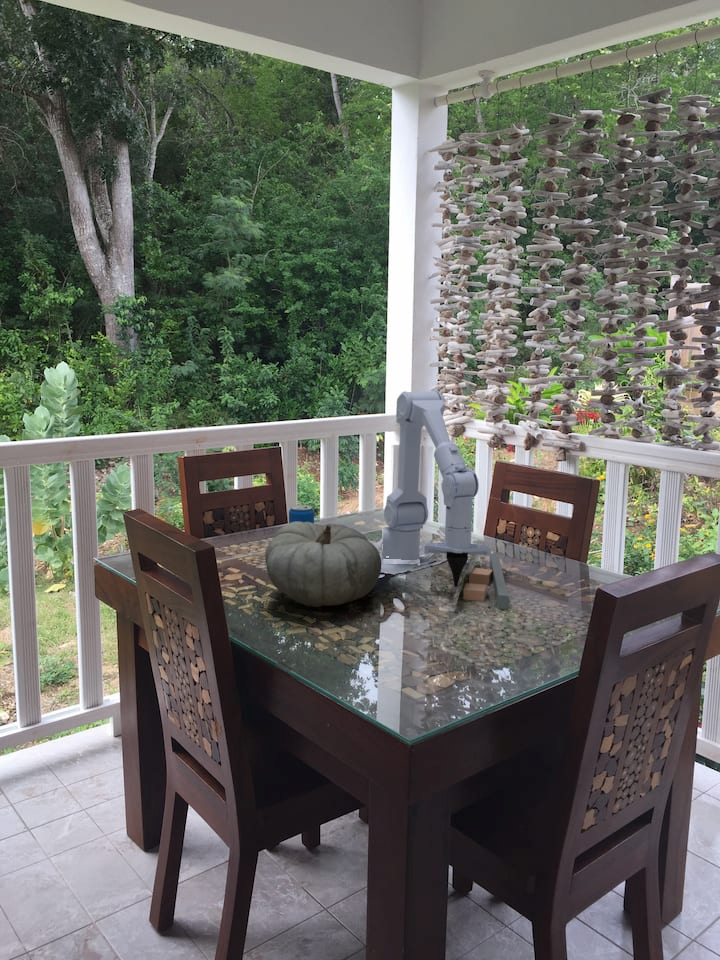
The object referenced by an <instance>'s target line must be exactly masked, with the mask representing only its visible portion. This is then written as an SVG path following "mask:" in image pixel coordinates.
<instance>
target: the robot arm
mask: <svg viewBox="0 0 720 960" xmlns="http://www.w3.org/2000/svg"><path fill="white" fill-rule="evenodd" d="M445 406H446V404H445V399H444V396H443V395H442V393H441V391H439V390H434V391H406V390H405V391H402V392H401V393H400V394H399V396H398V397H397V399H396V410H395V411H396V413H395V414H396V415H395V418H396V420H395V422H396V423H397V424H399V425H400V427H399V428H400V430H399V432H400V433H399V450H398V451H399V455H398V456H399V457H398V479H397V480H398V481H397V489H395V490H394V491H393V492H391V493H390V494H389V495H387V497H386V503H385V507H384V508H383V509H384V510H383V516H384V517H383V518H384V521H385V523H386V525H387V526H385V527H383V531H382V549H381V560H382V559H401V560H417V559H420V554H421V553H420V550H421V549H420V546H421V545H420V544H421V529H423V528H424V525H426V523H427V522H428V518H429V510H428V504H427V503H428V502H427V497H426V495H424V494H423V492H421V491H419V483H420V482H419V480H420V463H421V462H420V460H421V459H420V458H421V436H422V429H423V427H425V430H426V432H427V433H428V436H429V437H430V439H431V441H432V443H433V445H434V447H435V451H434V452H433V457H434V459H435V462H436V464H437V467H438V470H439V471H440V474H441V477H442V480H441V481H442V482H441V485H440V486H441V491H442V495H443V504H444V506H445V521H444V522H445V523H444V525H445V526H444V527H445V528H444V542H425V543H424V550H423V552H424V554H427V555H428V554H442V555H443V554H445V557H446V561H447V563H448V565H449V568H450V570H451V573H452V578H453V583H454V584H453V585H454V588H457V587H458V586H459V582H460V580H459V578H460V575H461V572H462V570H463V569H464V566H465V564H466V563H468V559H469V556H474V555H477V556H486V557H490V556H491V554H492V545H485V544H477V543H472V526H473V525H472V522H473V499H474V497H476V495H478V493H479V479H478V475H477V473H476V472H475V471H474V470H473V469H471V467H468V466H467V464H466V463H465V460H464V458H463V454H462V453H461V451H460V448H459V446H458V445H457V444H456V443H453V442H451V438H450V436H449V433H448V429H447V426H446V422H445V419H444V413H445V408H446V407H445ZM386 556H389V558H386Z"/></svg>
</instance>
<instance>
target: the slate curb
mask: <svg viewBox="0 0 720 960" xmlns="http://www.w3.org/2000/svg"><path fill="white" fill-rule="evenodd" d="M489 570H493V574H492V581H491V582H492V586H493V591H494V595H495V602H496V605H497V606H496V608H497V610H508V607H509V606H508V605H509V594H508V590H507V585H506V581H505V577H504V572H503V569H502V564H501V560H500V556H499V554H498V553H491V556H489Z"/></svg>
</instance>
